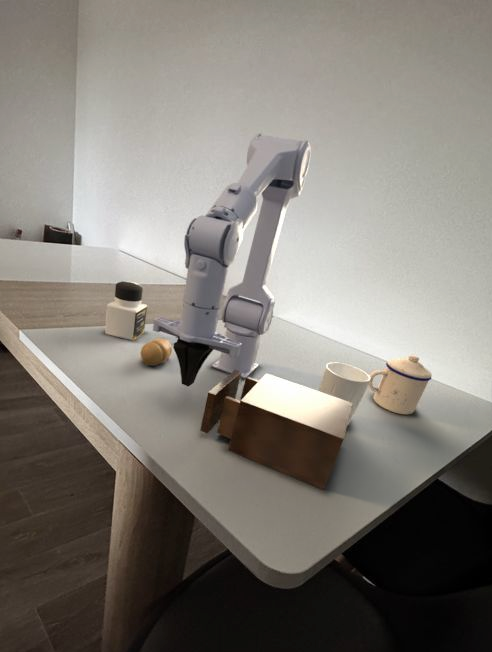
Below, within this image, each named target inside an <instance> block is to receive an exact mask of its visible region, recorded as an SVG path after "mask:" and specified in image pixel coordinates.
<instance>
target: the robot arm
mask: <svg viewBox="0 0 492 652" xmlns="http://www.w3.org/2000/svg"><path fill="white" fill-rule="evenodd" d="M311 155H312V147H311V144H310V142H309V140H307V139H305V140H298V139H291V138H285V137H278V136H272V135H265V134H263V133H262V132H261V133H260V132H257V133H256V134H254V136H253V137H252V138H251V140H250V142H249V145H248V148H247V153H246V167H245V169H244V170H243V172H242V174H241V176H240V178H239V180H238V182H233V183H230V184H228V185H227V186H226V187H225V188H224V190H223V191H222V192H221V193H220V195H219V196H218V198H217V199H216V201H215V202H214V203H213V205H212V206H211V207H210V208H209V210H208V211H207V212H206V214H205V215H198V216H197V217H195V218H193V219H192V220H191V221H190V223H189V225H188V227H187V229H186V232H185V233H186V234H185V235H184V240H183V241H184V242H183V244H184V245H183V246H184V252H185V261H184V265H185V267H184V268H186V270H187V273H186V278H185V279H186V280H185V284H184V285H185V286H184V293H183V298H182V305H181V313H180V319H179V321H178V320H174V319H170V318H166V317H162V316H159V317H156V318H153V325H152V331H154V332H156V333H164V334H167V335H171V336H172V337H175V338H177V339H176V341H175V342H174V343H173V346H172V347H173V351H174V352H175V355H176V359H177V362H178V364H179V370H180V379H181V385H183V386H186V387H191V386H192V385H193V384H195V381H196V379H197V376H198V374H199V372H200V370H201V368H202V366H203V365H204V363H205V361H206V360H207V359H208V357H209V356H210V355H211V353H212V352H213V351H217V352H220V358H219V360H217V361H216V362H214V363H212V368H214V369H216V370H219V371H223V372H225V373H228V374H230V373H232V372H233V371H234V370H235V369H236V370H239V371H242V372H241V377H240V378H242V379H246V377H247V376H248V377H250V375H251V374H252V373H253V372H254V371H255V370H256V369H257V368H258V367H259V366H260V365H259V363H257V362H256V361H257V356H258V353H259V348H260V346H261V345H260V344H261V336H263V335H264V334H266V333H267V331H268V330H269V329H270V326H271V323H272V321H273V317H274V316H273V315H274V308H275V304H276V300H275V299H276V298H275V297H274V296H273V294H272V293H271V292H270V290H269V289H268V288H267V282H268V279H269V275H270V271H271V268H272V264H273V260H274V256H275V251H276V248H277V245H278V241H279V237H280V235H281V231H282V226H283V222H284V219H285V215H286V212H287V209H288V207H289V204H290V202H291V200H293V199H295V198H298V197H300V196H301V193H302V191H303V188H304V185H305V181H306V178H307V174H308V170H309V167H310V162H311ZM261 195H262V196H261ZM260 196H261V197H262V201H261V206H260V210H259V213H258V216H257V222H256V226H255V230H254V235H253V237H252V241H251V246H250V250H249V254H248V257H247V258H248V259H247V261H246V266H245V269H244V274H243V279H242V282H239V283H237V284H234V285H233V286H231V287H230V288H229V289H228V291H227V293H226V297H225V300H223V297H224V292H225V286H226V282H227V276H228V271H229V266H231V265H232V264H234V261H235V260H236V258H237V256H238V254H239V250H240V246H241V244H242V242H243V239H244V231H245V230H246V229H247V227H248V226H249V224H250V223H251V221H252V219H253V218H254V216H255V215H256V213H257V212H258V211H257V210H258V205H259V204H258V198H259V197H260ZM222 302H223V303H222ZM219 317H220V319H221V322H222V323H223V324H224V325H223V328H225V334H224V335H223V334H221V333H219V332H217V327H218V322H219Z"/></svg>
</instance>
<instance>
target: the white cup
mask: <svg viewBox="0 0 492 652" xmlns="http://www.w3.org/2000/svg"><path fill="white" fill-rule="evenodd" d="M369 375H370V374H368V373H367V372H365V371H364V370H363V369H360V368H359V367H356V366H354V365H350V364H347V363H342V362H329V363H327V364H325V369H324V372H323V376H322V379H321V382H320V386H319V389H318V391H319V392H322V393H325V394H328V395H331V396H334V397H337V398H340V399H342V400H345V401H348V402H351V403H353V406H352V410H351V413H350V417H349V421H348V425H347V427H348V426H349V424H350V422H351V420H352V418H353V417H354V415H355V413H356V411H357V409H358V407H359V405H360V403H361V401H362V399H363V397H364V394H365V392H366V391H367V388H368V387H369V386H368V384H369V382H370V379H371V378H370V376H369Z"/></svg>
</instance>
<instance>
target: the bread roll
mask: <svg viewBox="0 0 492 652" xmlns="http://www.w3.org/2000/svg"><path fill="white" fill-rule="evenodd" d="M172 350H173V349H172V345H171V343H170V342H169V341H168V340H167V339H164V338H159V337H158V338H155V339H153V340H151V341H148V342H146V343H145V344H144V345H143V346H142V347H141V349H140V357H141V360H142V362H144V363H145V364H146V365H148V366H157V365H159V364H161V363H164V362H165V361H167V360H168V359H169V358H170V357H171V355H172V353H173V351H172Z"/></svg>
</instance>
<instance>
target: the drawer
mask: <svg viewBox="0 0 492 652" xmlns="http://www.w3.org/2000/svg"><path fill="white" fill-rule="evenodd" d="M241 372H242V371H239V370H236V369H235V370H234V371H233V372H232V373H228V375H226V377H224V378H223V379H222V380H221V381H220V382H218V383H217V384H216V385H215V386H214V387H212V388H211V389H210V390H209V391H208V392H207V395H206V400H205V405H204V410H203V414H202V420H201V424H200V430H199V431H200V432H202V433H204V434H209V432H210V431H211V430H212V429H213V428H214V427H215V426H216V425H217V424H218V427H217V431H216V434H217V435H220V436H223V437H226V438H228V439H230V440H231V437H232V433H233V429H234V425H235V421H236V417H237V413H238V409H239V405H240V401H241V400H242V399H243V397H244V396H245V395H246V394H247V393H248V392H249V391H250V390H251V389H252V388H253V387H254V386H255V385H256V384H257V383H258V381H259V380H260V379H257V378H253V377H250V376H247V377H246V378H244V379H245V380H244V384H243V388H242V391H241V396H240V399H236V397H237V393H238V389H239V384H240V380H241V378H242V377H241Z"/></svg>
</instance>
